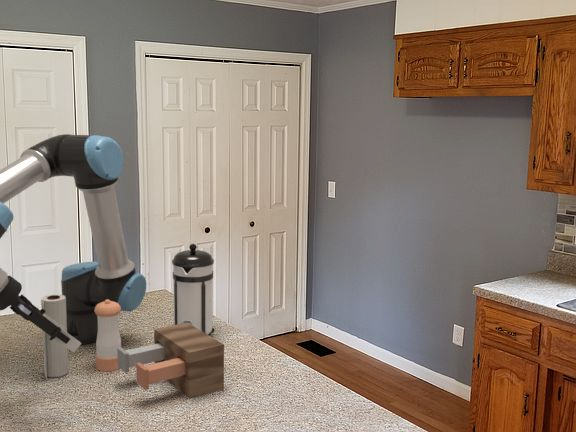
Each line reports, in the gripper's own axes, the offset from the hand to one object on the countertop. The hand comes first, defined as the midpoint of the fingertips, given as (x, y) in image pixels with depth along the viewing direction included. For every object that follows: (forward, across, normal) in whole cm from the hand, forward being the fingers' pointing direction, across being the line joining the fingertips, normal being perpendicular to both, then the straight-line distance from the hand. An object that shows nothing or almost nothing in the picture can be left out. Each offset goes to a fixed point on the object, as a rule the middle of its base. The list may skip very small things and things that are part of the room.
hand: (69, 340), depth 153 cm
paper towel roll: (+12, -17, -10) cm, 23 cm away
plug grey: (+22, 0, +7) cm, 23 cm away
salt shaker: (+22, -14, 0) cm, 26 cm away
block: (+31, +6, +10) cm, 33 cm away
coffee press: (+44, -23, +22) cm, 54 cm away
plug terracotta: (+22, +12, +7) cm, 26 cm away
